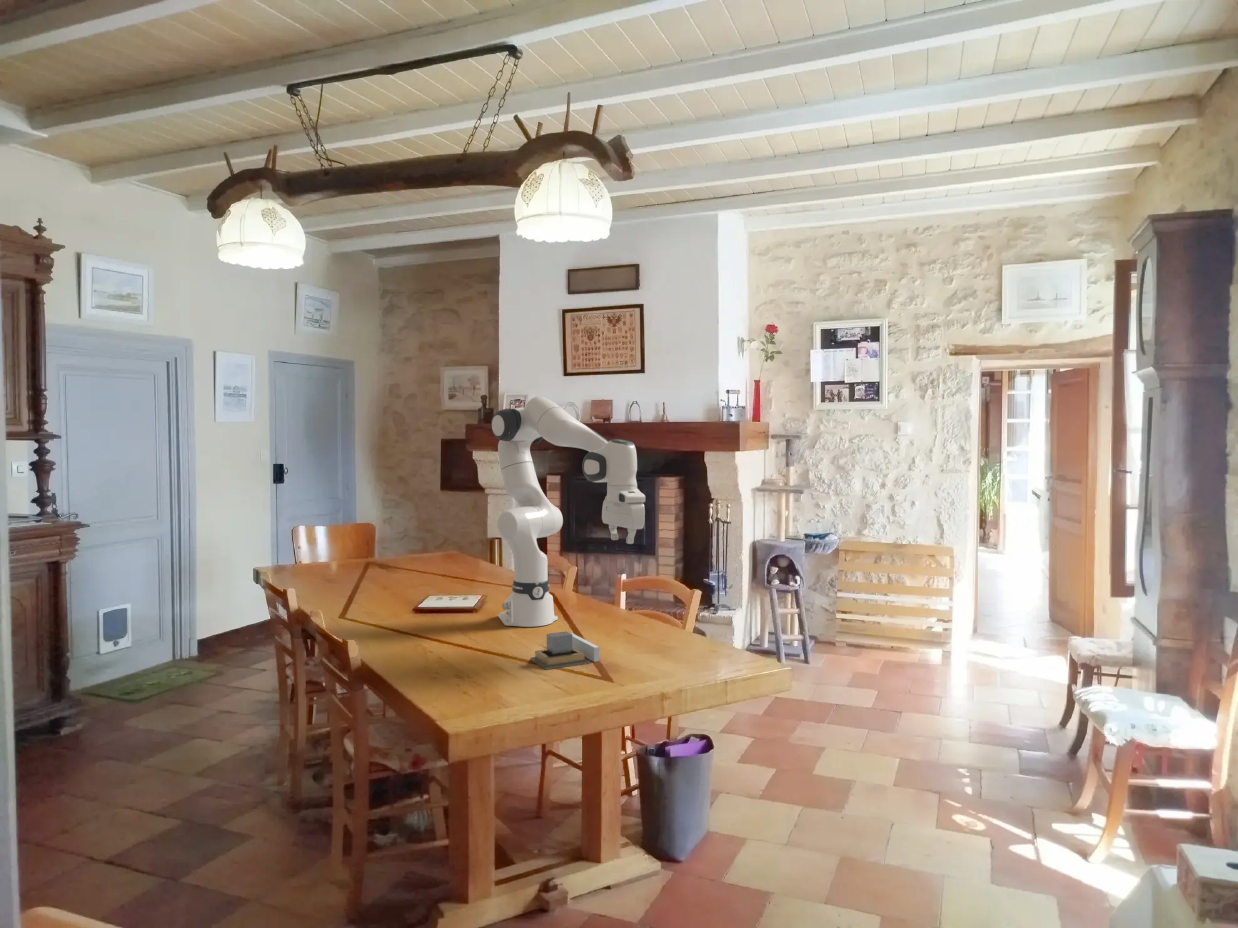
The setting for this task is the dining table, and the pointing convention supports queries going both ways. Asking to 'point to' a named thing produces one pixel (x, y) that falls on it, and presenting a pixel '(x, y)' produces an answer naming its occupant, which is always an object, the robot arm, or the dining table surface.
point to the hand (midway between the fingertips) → (622, 541)
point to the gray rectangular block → (559, 644)
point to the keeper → (558, 659)
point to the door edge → (585, 648)
